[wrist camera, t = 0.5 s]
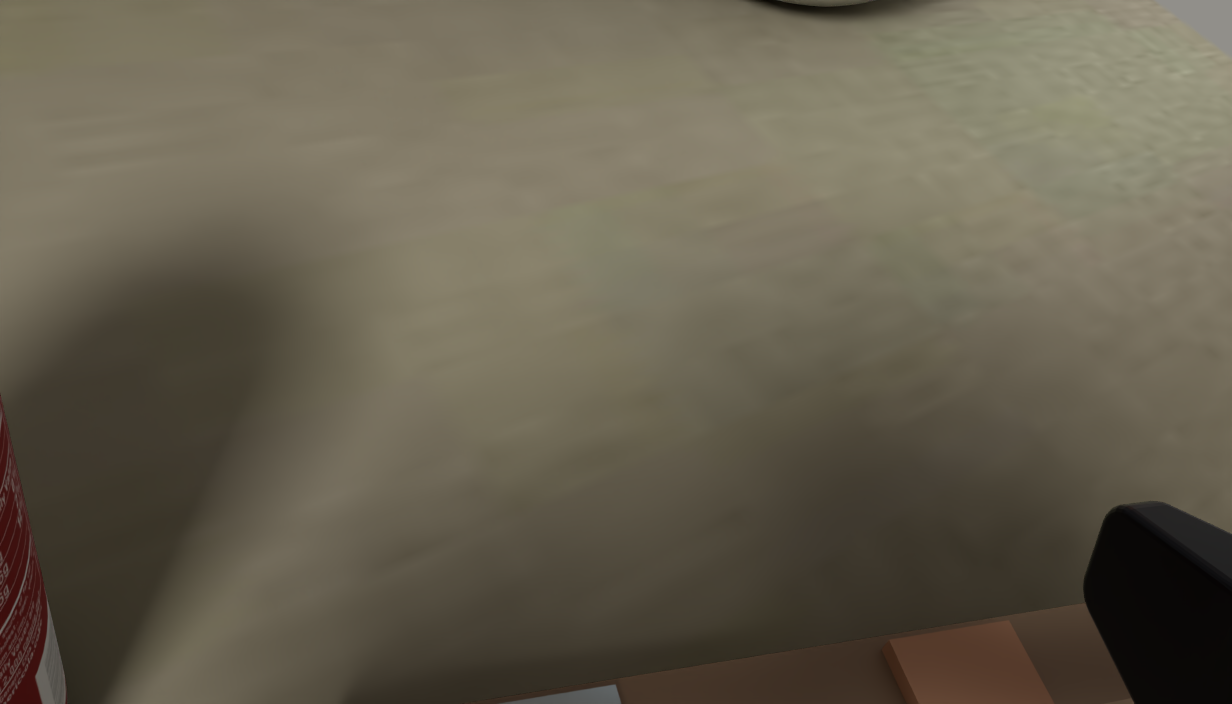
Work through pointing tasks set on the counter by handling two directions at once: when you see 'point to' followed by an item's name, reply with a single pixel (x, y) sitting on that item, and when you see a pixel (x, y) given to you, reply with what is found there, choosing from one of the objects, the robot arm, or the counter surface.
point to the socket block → (892, 670)
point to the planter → (826, 2)
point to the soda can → (23, 599)
